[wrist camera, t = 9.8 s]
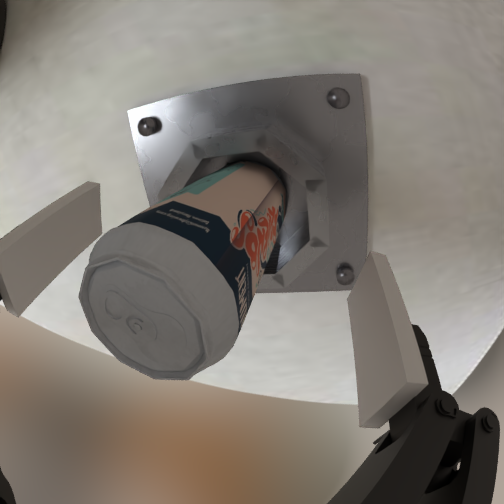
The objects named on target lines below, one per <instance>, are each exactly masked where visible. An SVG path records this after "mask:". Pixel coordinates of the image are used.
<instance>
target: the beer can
mask: <svg viewBox="0 0 504 504" xmlns="http://www.w3.org/2000/svg"><path fill="white" fill-rule="evenodd" d="M287 207H288V202H287V193H286V189H285V187H284V185H283V183H282V181H281V179H280V178H279V177H278V176H277V174H276V173H275V172H274V171H272V170H271V169H270V168H268V167H267V166H265V165H263V164H261V163H258V162H255V161H248V160H242V161H237V162H233V163H230V164H228V165H226V166H224V167H223V168H221V169H219V170H217V171H215V172H213V173H211V174H209V175H207V176H205V177H203V178H202V179H200V180H198V181H196V182H194V183H192V184H190V185H188V186H187V187H185V188H183V189H181V190H179V191H178V192H176V193H174V194H172V195H170V196H169V197H167V198H165V199H163V200H162V201H160V202H158V203H156V204H155V205H153V206H151V207H149V208H148V209H146V210H144V211H143V212H141V213H139V214H138V215H136V216H134V217H133V218H131V219H129V220H128V221H126V222H125V223H123V224H121V225H120V226H118V227H116V228H113V229H111V230H109V231H108V232H107V233H105V234H104V235H103V236H102V237H101V238H100V239H99V240H98V242H97V243H96V244H95V246H94V248H93V250H92V252H91V254H90V259H89V264H88V266H87V267H86V268H85V272H84V276H83V280H82V284H81V288H80V292H79V300H80V303H81V305H82V308H83V311H84V313H85V316H86V318H87V321H88V323H89V326H90V328H91V331H92V332H93V333H94V335H95V336H96V337H97V338H98V339H99V340H100V341H101V342H102V343H103V344H104V345H105V347H106V348H107V349H108V350H109V351H110V352H111V353H112V354H113V355H114V356H115V357H116V358H117V359H118V360H119V361H120V362H122V363H124V364H126V365H128V366H129V367H131V368H134V369H135V370H137V371H139V372H141V373H143V374H145V375H147V376H149V377H151V378H153V379H160V380H189V379H190V378H191V377H192V376H193V375H195V374H197V373H198V372H200V371H202V370H204V369H206V368H207V367H209V366H211V365H213V364H215V363H217V362H218V361H220V360H221V359H223V358H224V357H225V356H226V355H227V353H228V352H229V351H230V350H231V348H232V347H233V346H234V343H235V341H236V339H237V337H238V335H239V332H240V330H241V327H242V325H243V322H244V320H245V317H246V315H247V312H248V310H249V307H250V305H251V302H252V300H253V297H254V295H255V292H256V290H257V287H258V285H259V282H260V280H261V277H262V275H263V272H264V270H265V267H266V265H267V262H268V260H269V257H270V255H271V252H272V249H273V247H274V244H275V242H276V239H277V237H278V234H279V231H280V229H281V226H282V224H283V221H284V218H285V216H286V212H287Z"/></svg>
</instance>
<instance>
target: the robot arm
mask: <svg viewBox="0 0 504 504" xmlns="http://www.w3.org/2000/svg"><path fill="white" fill-rule="evenodd" d="M5 16H6V5H5V0H0V47H1V43H2V38H3V32H4V26H5ZM101 234H102V223H101V204H100V184H99V183H94V182H89V181H88V182H86V183H84V184H82V185H81V186H79V187H77V188H76V189H74V190H72V191H71V192H69V193H67V194H66V195H64V196H62V197H61V198H59V199H58V200H56V201H55V202H53V203H51V204H50V205H48V206H47V207H45V208H44V209H42V210H41V211H39V212H38V213H36V214H35V215H33V216H32V217H30V218H29V219H28V220H26V221H25V222H23V223H22V224H21V225H19V226H17V227H16V228H14V229H13V230H12V231H10V233H8V234H6V235H5V236H4V237H3V238H1V239H0V301H1V300H3V302H4V305H5V307H6V309H7V311H9V312H10V313H12V314H13V315H15V316H16V317H19V316H20V315H21V314H22V313H23V312H24V311H25V309H26V308H27V307H28V306H29V305H30V304H31V303H32V302H33V301H34V300H35V298H36V297H37V296H38V295H39V294H40V293H41V292H42V291H43V290H44V289H45V288H46V287H47V286H48V285H49V284H50V283H51V282H52V281H53V280H54V279H55V278H56V277H57V276H58V275H59V274H60V273H61V272H62V271H63V270H64V269H65V268H66V267H67V266H68V265H69V264H70V263H71V262H72V261H73V260H74V259H75V258H76V257H77V256H78V255H79V254H80V253H81V252H83V251H84V250H85V249H86V248H87V247H88V246H89V245H90V244H91V243H92V242H93V241H95V240H96V239H97V238H98V237H99V236H100V235H101ZM347 301H348V308H349V315H350V323H351V331H352V339H353V348H354V358H355V368H356V379H357V392H358V407H359V427H363V428H380V427H381V426H383V425H384V424H385V423H386V422H388V421H389V425H390V430H389V431H387V432H386V433H385V434H383V435H382V436H381V437H379V438H378V439H377V440H376V441H374V442H373V444H377V443H378V442H379V443H378V444H377V445H376V447H375V448H374V449H373V451H372V452H371V453H370V455H369V456H368V457H367V458H366V460H365V461H364V462H363V464H362V465H361V466H360V467H359V468H358V470H357V471H356V472H355V473H354V475H353V476H352V477H351V478H350V479H349V481H348V482H347V483H346V484H345V485H344V486H343V487H342V488H341V489H340V491H339V492H338V493H337V494H336V495H335V496H334V497H333V498H332V499H331V500H330V501H329V502H328V504H491V502H492V497H493V492H494V486H495V479H496V472H497V463H498V453H499V437H500V426H499V421H498V418H497V416H496V415H495V413H494V412H493V411H492V410H490V409H489V408H481V409H479V410H478V411H477V412H476V413H475V414H473V415H471V414H469V413H466V412H463V411H461V410H459V407H458V404H457V402H456V400H455V399H454V397H453V396H452V395H451V394H449V393H447V392H446V391H442V388H441V384H440V381H439V377H438V374H437V370H436V367H435V363H434V360H433V358H432V354H431V351H430V349H429V344H428V341H427V338H426V336H425V334H424V333H423V332H422V330H421V329H420V327H419V326H418V325H413V324H411V322H410V319H409V316H408V313H407V310H406V307H405V304H404V301H403V299H402V296H401V293H400V290H399V288H398V285H397V282H396V280H395V277H394V275H393V272H392V269H391V267H390V264H389V262H388V260H387V257H386V255H383V254H380V253H376V252H373V251H370V253H369V255H368V257H367V260H366V262H365V264H364V266H363V268H362V270H361V272H360V274H359V276H358V279H357V281H356V283H355V285H354V287H353V289H352V291H351V293H350V295H349V297H348V299H347ZM459 462H461V463H460V468H459V470H457V465H458V463H459ZM0 504H16V502H15V499H14V494H13V491H12V488H11V486H10V484H9V482H8V481H7V479H6V478H5V477H4V475H3V473H2V471H1V468H0Z"/></svg>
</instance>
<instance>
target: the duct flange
mask: <svg viewBox="0 0 504 504" xmlns="http://www.w3.org/2000/svg"><path fill="white" fill-rule="evenodd" d="M127 112H128V117H129V122H130V126H131V131H132V136H133V140H134V145H135V149H136V153H137V158H138V162H139V166H140V170H141V174H142V178H143V182H144V186H145V190H146V193H147V197H148V201H149V204H150V207H151V206H153V205H155V204H156V203H158V202H160V201H162V200H163V199H165V198H167V197H169V196H170V195H172V194H174V193H176V192H178V191H179V190H181V189H183V188H185V187H187V186H188V185H190V184H192V183H194V182H196V181H198V180H200V179H202V178H203V177H205V176H207V175H209V174H211V173H213V172H215V171H217V170H219V169H221V168H223V167H224V166H226V165H228V164H230V163H233V162H237V161H242V160H248V161H255V162H258V163H261V164H263V165H265V166H267V167H268V168H270V169H271V170H272V171H274V172H275V173H276V174H277V176H278V177H279V178H280V179H281V181H282V183H283V185H284V187H285V189H286V193H287V202H288V207H287V212H286V216H285V218H284V221H283V224H282V226H281V229H280V231H279V234H278V237H277V239H276V242H275V244H274V247H273V249H272V252H271V255H270V257H269V260H268V262H267V265H266V267H265V270H264V272H263V275H262V277H261V280H260V282H259V285H258V287H257V290H256V292H255V293H283V292H317V291H342V290H352V289H353V287H354V285H355V283H356V281H357V279H358V276H359V274H360V272H361V270H362V268H363V266H364V264H365V262H366V252H367V227H368V167H367V143H366V127H365V114H364V103H363V93H362V85H361V76H360V74H322V75H305V76H292V77H282V78H273V79H265V80H257V81H250V82H244V83H238V84H232V85H226V86H221V87H216V88H211V89H206V90H201V91H197V92H193V93H188V94H184V95H180V96H176V97H172V98H169V99H165V100H161V101H158V102H154V103H151V104H147V105H144V106H141V107H138V108H135V109H131V110H128V111H127Z"/></svg>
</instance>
